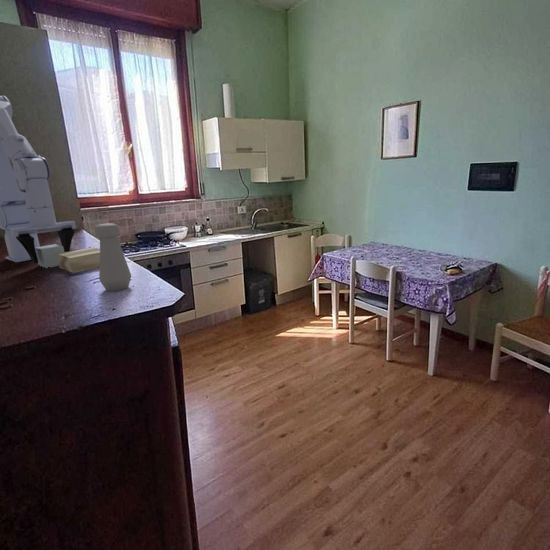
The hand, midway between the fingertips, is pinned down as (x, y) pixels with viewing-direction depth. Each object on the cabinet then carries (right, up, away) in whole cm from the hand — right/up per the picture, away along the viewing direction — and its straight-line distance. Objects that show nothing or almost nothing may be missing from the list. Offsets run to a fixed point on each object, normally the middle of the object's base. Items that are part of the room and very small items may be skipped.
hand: (51, 259), depth 95 cm
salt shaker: (+27, -7, -22) cm, 36 cm away
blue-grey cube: (0, -1, 0) cm, 2 cm away
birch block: (+10, -2, -3) cm, 11 cm away
